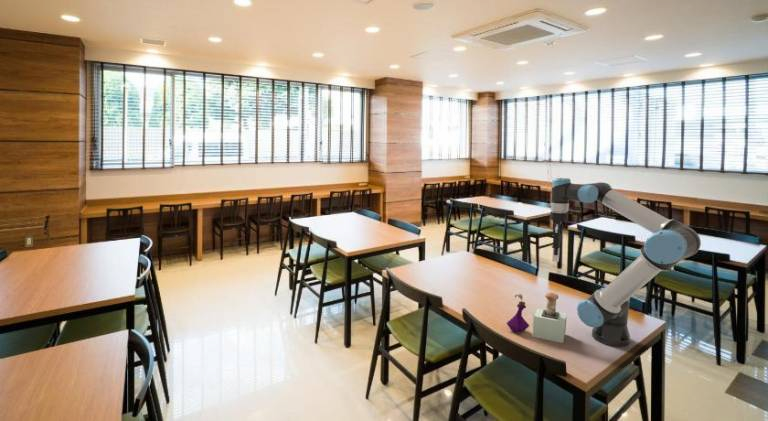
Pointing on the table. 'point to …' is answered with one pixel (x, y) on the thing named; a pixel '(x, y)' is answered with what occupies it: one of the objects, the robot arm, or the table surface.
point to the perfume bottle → (518, 318)
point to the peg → (551, 303)
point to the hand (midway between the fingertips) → (555, 261)
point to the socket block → (549, 326)
